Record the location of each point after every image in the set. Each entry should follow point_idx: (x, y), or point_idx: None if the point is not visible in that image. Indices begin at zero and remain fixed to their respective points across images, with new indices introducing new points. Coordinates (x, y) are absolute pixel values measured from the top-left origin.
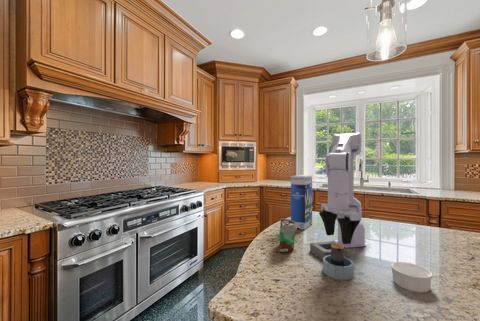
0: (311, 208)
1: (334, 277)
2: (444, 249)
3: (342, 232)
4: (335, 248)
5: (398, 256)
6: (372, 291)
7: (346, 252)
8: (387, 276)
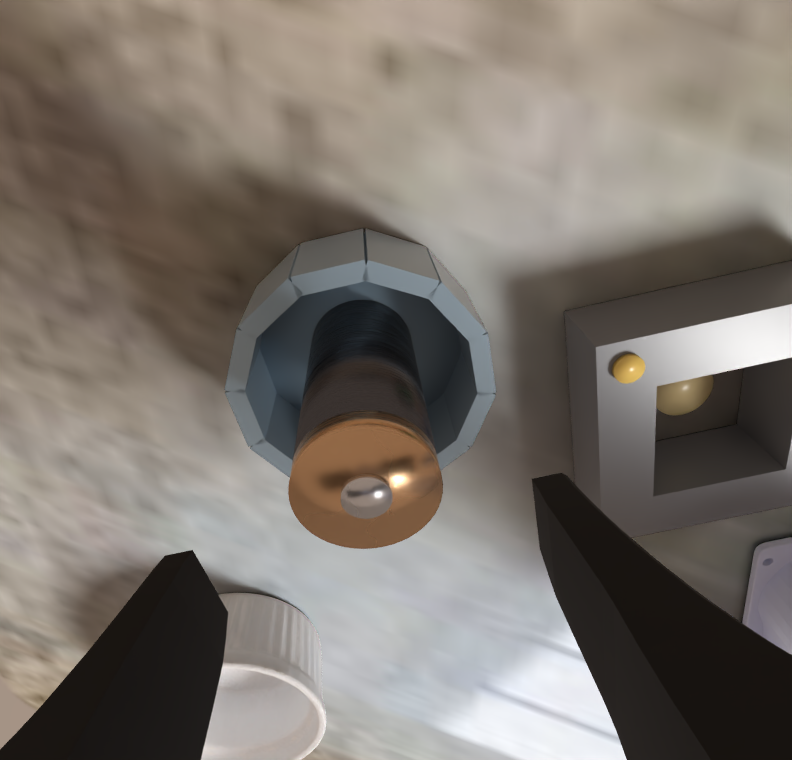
0: None
1: (259, 285)
2: None
3: (67, 703)
4: (305, 437)
5: (561, 721)
6: (120, 452)
7: None
8: (324, 591)
